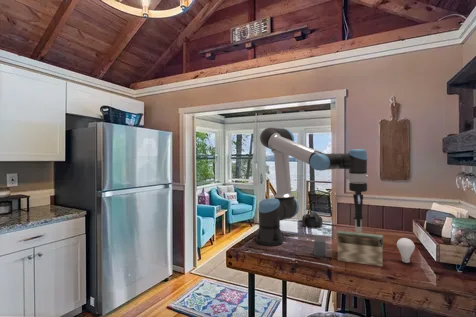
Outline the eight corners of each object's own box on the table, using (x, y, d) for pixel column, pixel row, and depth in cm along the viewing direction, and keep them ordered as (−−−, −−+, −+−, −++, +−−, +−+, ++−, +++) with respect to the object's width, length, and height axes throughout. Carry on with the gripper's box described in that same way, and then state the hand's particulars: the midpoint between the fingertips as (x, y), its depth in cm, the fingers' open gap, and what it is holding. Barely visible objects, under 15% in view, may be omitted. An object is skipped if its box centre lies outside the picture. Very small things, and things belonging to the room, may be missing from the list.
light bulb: (408, 267, 108) (408, 241, 108) (393, 261, 114) (393, 237, 114) (418, 264, 110) (418, 239, 110) (403, 258, 116) (403, 235, 116)
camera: (302, 228, 166) (302, 213, 166) (301, 224, 176) (301, 210, 176) (323, 229, 164) (323, 214, 164) (321, 225, 174) (321, 210, 174)
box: (337, 260, 116) (337, 242, 116) (338, 251, 126) (337, 235, 126) (382, 266, 109) (382, 248, 109) (379, 256, 119) (379, 239, 119)
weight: (314, 255, 122) (314, 241, 122) (315, 251, 126) (315, 237, 126) (325, 257, 120) (325, 242, 120) (325, 253, 125) (325, 239, 124)
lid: (336, 232, 116) (336, 230, 117) (337, 235, 126) (337, 233, 126) (383, 236, 109) (383, 234, 109) (380, 239, 119) (379, 237, 119)
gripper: (368, 184, 109) (368, 238, 110) (365, 180, 121) (366, 229, 122) (349, 183, 112) (350, 236, 113) (348, 180, 124) (349, 228, 125)
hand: (358, 232), depth 118 cm, fingers closed
